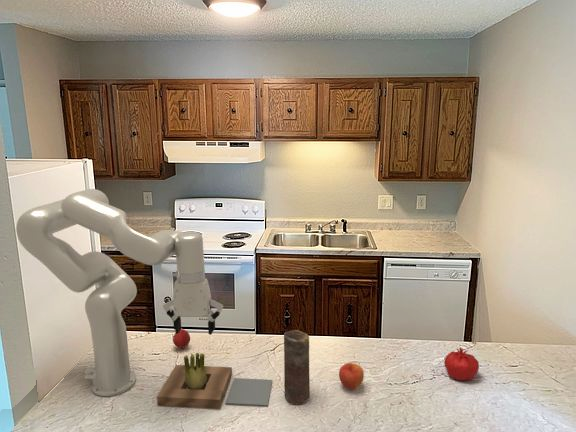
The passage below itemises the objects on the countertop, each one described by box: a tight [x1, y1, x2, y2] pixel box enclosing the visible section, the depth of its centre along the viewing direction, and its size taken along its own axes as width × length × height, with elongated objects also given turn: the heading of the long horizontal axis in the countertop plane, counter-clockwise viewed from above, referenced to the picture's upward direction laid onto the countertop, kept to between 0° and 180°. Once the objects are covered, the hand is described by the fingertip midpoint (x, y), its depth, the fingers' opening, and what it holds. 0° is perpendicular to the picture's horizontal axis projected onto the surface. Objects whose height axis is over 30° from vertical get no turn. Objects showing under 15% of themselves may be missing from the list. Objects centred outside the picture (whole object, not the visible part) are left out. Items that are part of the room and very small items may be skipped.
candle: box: [283, 329, 311, 405], centre depth 121 cm, size 8×7×20 cm
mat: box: [225, 377, 273, 408], centre depth 125 cm, size 12×12×1 cm
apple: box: [338, 362, 365, 391], centre depth 127 cm, size 7×7×8 cm
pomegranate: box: [443, 347, 480, 381], centre depth 133 cm, size 10×10×9 cm
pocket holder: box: [156, 364, 233, 410], centre depth 126 cm, size 18×16×3 cm
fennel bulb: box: [183, 352, 208, 390], centre depth 125 cm, size 6×5×12 cm
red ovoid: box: [172, 327, 191, 350], centre depth 149 cm, size 6×6×8 cm
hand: (194, 331), depth 122 cm, fingers open, 9 cm apart
